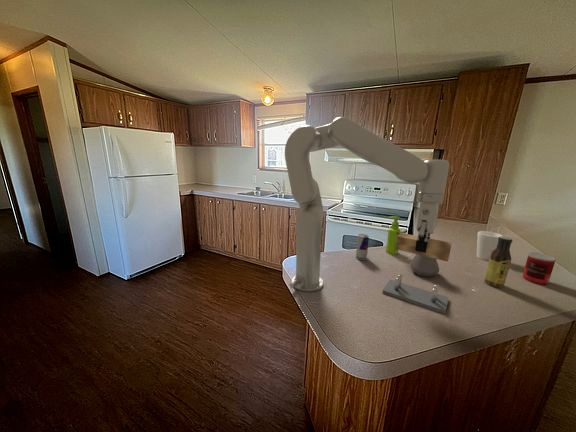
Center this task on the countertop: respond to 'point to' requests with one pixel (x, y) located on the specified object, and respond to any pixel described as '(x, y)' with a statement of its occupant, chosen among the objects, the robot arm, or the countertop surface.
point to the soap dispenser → (393, 236)
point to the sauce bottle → (499, 263)
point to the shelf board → (433, 250)
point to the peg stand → (417, 295)
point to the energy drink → (362, 246)
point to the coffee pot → (424, 265)
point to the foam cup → (486, 244)
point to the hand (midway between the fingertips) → (421, 248)
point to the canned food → (538, 268)
